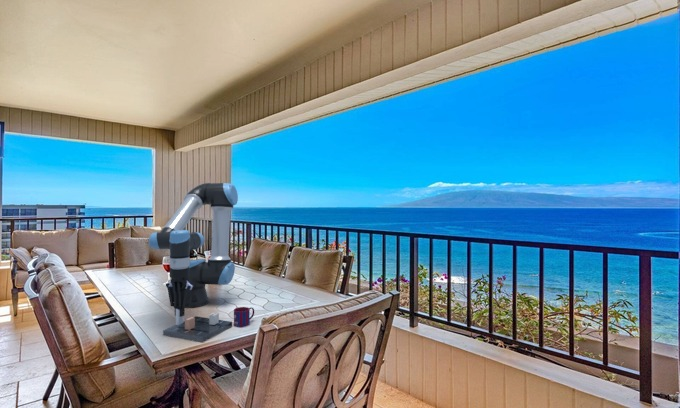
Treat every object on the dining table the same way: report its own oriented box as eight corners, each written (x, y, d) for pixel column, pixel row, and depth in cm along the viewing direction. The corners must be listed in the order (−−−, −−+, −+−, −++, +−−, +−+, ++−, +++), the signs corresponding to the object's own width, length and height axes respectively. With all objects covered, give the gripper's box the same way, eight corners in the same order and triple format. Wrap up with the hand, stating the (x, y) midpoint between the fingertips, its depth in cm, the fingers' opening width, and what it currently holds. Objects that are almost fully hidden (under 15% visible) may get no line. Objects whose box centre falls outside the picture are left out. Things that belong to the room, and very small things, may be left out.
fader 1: (184, 329, 138) (184, 319, 138) (190, 326, 141) (190, 316, 141) (189, 329, 137) (189, 319, 137) (194, 327, 140) (194, 317, 140)
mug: (230, 324, 150) (231, 309, 150) (250, 319, 157) (251, 304, 157) (238, 328, 145) (238, 312, 145) (258, 322, 152) (258, 307, 152)
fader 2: (209, 324, 144) (209, 314, 144) (214, 321, 146) (214, 312, 146) (213, 324, 143) (213, 315, 143) (218, 322, 146) (218, 313, 146)
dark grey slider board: (163, 335, 137) (163, 330, 137) (195, 320, 154) (195, 316, 154) (202, 342, 130) (202, 337, 130) (232, 326, 147) (232, 321, 147)
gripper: (160, 268, 139) (160, 324, 140) (185, 270, 135) (185, 328, 135) (174, 264, 146) (174, 318, 147) (198, 266, 142) (198, 322, 142)
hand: (179, 323), depth 141 cm, fingers closed
